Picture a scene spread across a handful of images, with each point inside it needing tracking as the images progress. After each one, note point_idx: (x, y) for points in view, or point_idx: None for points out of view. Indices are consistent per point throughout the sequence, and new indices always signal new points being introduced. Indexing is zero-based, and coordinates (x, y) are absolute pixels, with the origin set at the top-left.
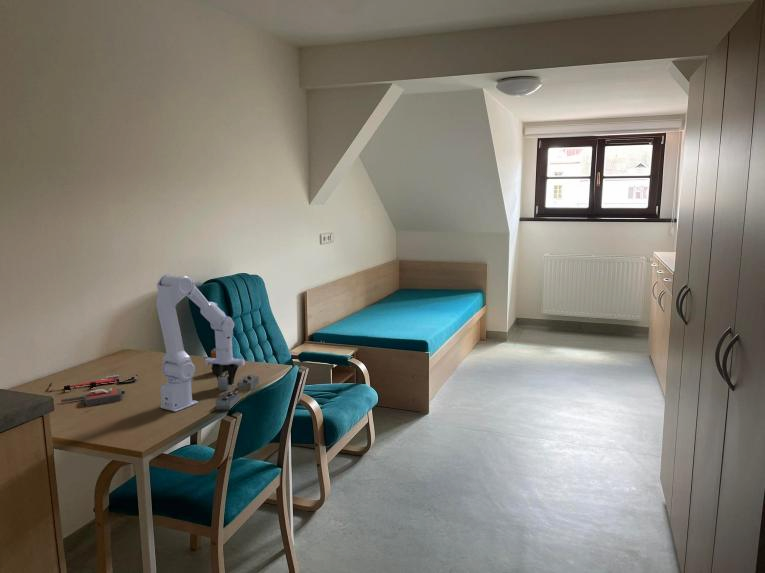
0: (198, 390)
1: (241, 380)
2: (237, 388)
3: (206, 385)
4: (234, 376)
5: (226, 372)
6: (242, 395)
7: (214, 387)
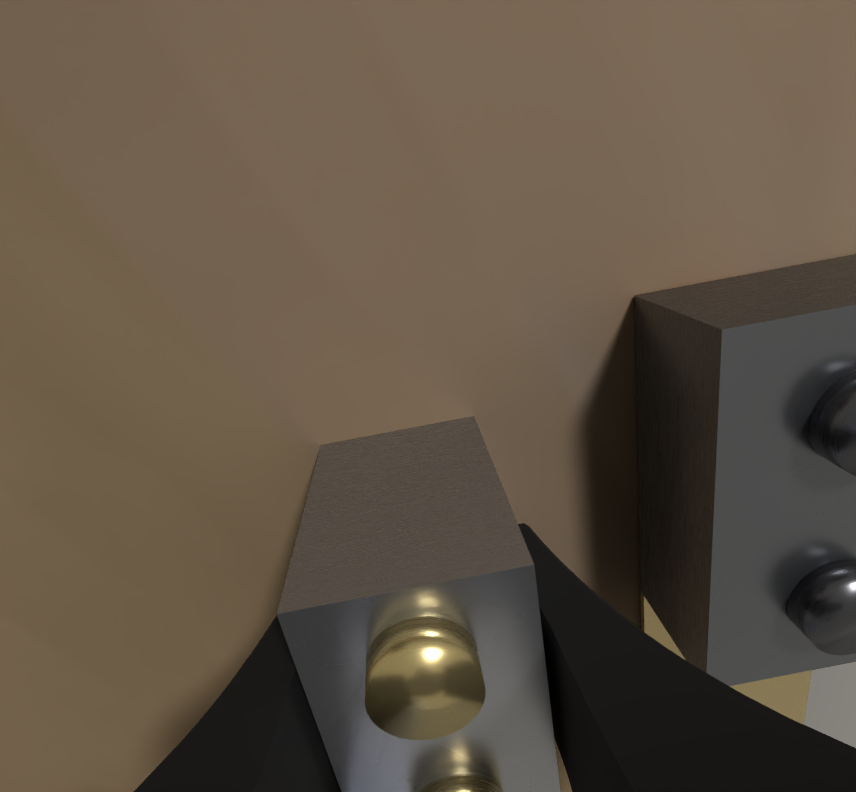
0: (122, 719)
1: (742, 593)
2: (658, 615)
3: (49, 554)
4: (588, 594)
5: (427, 727)
6: (774, 701)
7: (242, 583)
